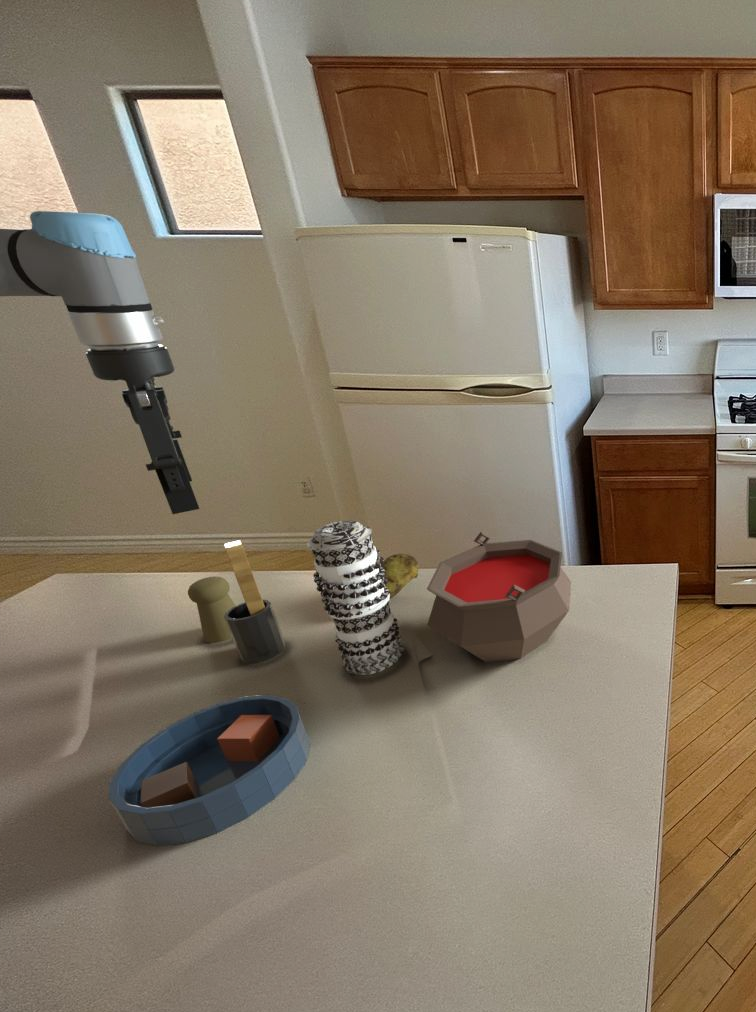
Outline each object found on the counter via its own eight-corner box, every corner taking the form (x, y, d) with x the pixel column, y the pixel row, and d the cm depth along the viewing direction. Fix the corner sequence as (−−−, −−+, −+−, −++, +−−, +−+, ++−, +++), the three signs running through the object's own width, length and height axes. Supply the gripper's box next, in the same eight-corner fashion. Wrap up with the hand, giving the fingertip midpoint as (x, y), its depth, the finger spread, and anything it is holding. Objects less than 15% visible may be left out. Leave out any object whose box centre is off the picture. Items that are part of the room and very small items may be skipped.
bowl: (131, 779, 70) (111, 744, 68) (298, 708, 81) (286, 676, 79) (128, 884, 59) (105, 846, 56) (324, 784, 70) (311, 749, 68)
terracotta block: (250, 737, 76) (241, 714, 74) (280, 737, 76) (271, 714, 74) (227, 761, 72) (216, 738, 70) (258, 761, 72) (248, 738, 70)
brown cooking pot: (599, 648, 95) (592, 566, 89) (449, 705, 82) (428, 614, 76) (553, 585, 113) (544, 513, 107) (424, 624, 101) (405, 545, 94)
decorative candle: (413, 640, 96) (380, 511, 86) (401, 676, 88) (364, 537, 78) (353, 650, 94) (313, 517, 84) (336, 687, 85) (289, 546, 76)
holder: (240, 654, 92) (222, 609, 89) (283, 638, 96) (268, 595, 93) (244, 671, 88) (225, 625, 85) (289, 654, 92) (273, 610, 89)
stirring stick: (263, 648, 93) (223, 543, 85) (278, 643, 94) (240, 539, 86) (265, 654, 91) (225, 548, 84) (280, 649, 93) (241, 544, 85)
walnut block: (154, 804, 66) (140, 780, 65) (198, 784, 69) (186, 761, 67) (153, 827, 63) (140, 803, 62) (199, 806, 66) (187, 782, 64)
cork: (204, 650, 93) (180, 595, 89) (204, 633, 97) (181, 579, 93) (250, 635, 97) (229, 582, 92) (248, 619, 101) (227, 567, 97)
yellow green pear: (345, 604, 106) (334, 568, 103) (414, 578, 115) (406, 544, 112) (361, 622, 101) (350, 584, 98) (432, 592, 110) (424, 557, 107)
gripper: (169, 355, 66) (226, 516, 74) (161, 333, 82) (209, 467, 90) (76, 361, 61) (148, 533, 69) (88, 336, 77) (145, 478, 85)
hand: (183, 496), depth 80 cm, fingers open, 13 cm apart
